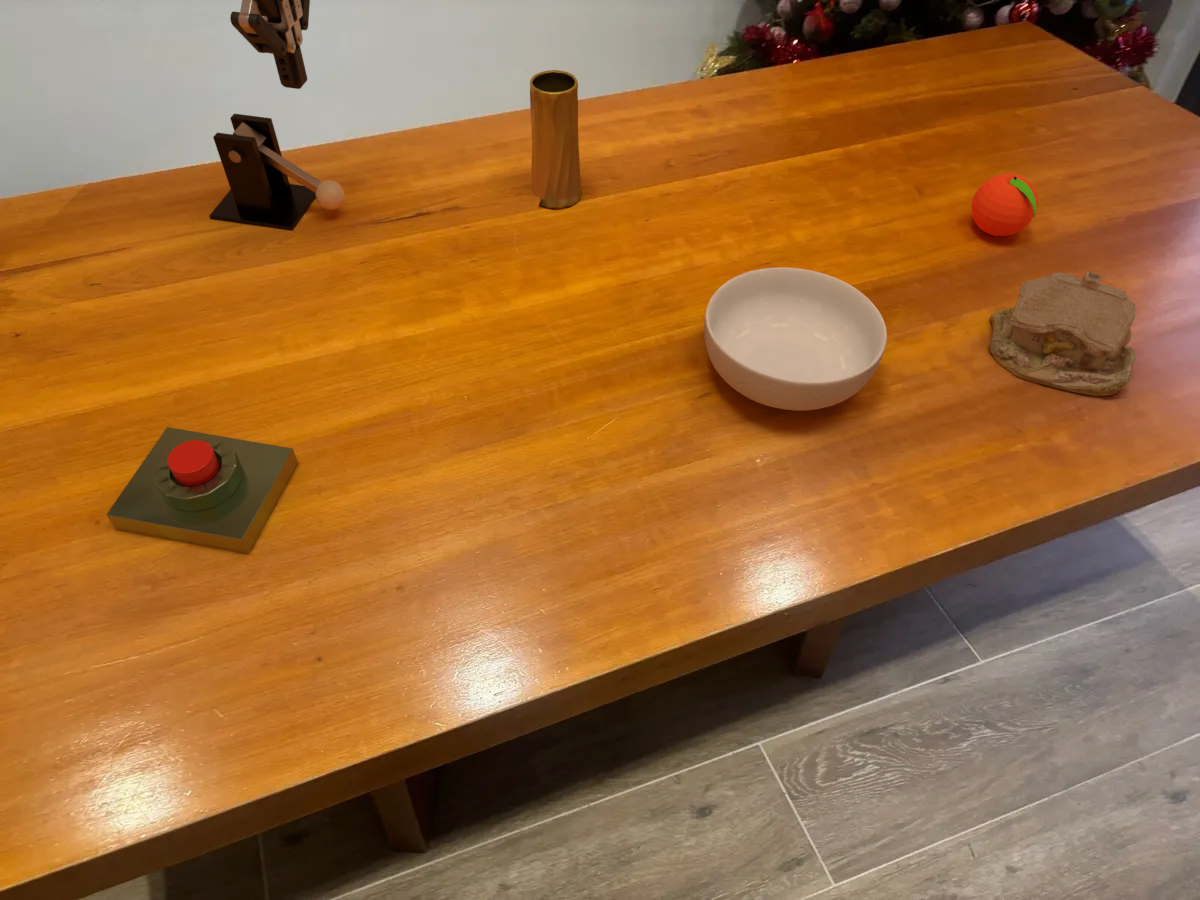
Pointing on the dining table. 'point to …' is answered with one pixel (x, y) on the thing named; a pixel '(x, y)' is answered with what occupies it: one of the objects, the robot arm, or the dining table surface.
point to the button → (193, 463)
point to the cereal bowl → (793, 337)
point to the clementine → (1004, 205)
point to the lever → (297, 172)
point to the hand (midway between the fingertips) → (294, 84)
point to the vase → (555, 138)
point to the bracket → (257, 181)
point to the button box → (206, 493)
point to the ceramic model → (1067, 334)
